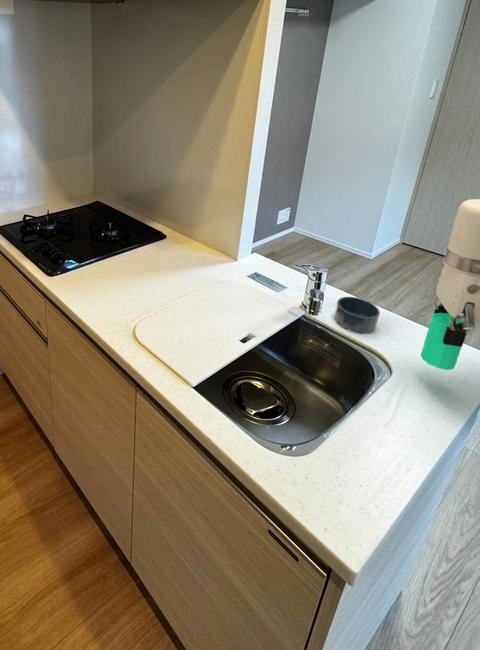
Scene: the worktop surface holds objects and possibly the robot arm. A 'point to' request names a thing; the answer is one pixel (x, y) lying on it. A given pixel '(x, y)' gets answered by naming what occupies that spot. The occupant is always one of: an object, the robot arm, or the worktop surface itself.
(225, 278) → the worktop surface
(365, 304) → the bowl
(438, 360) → the candle
